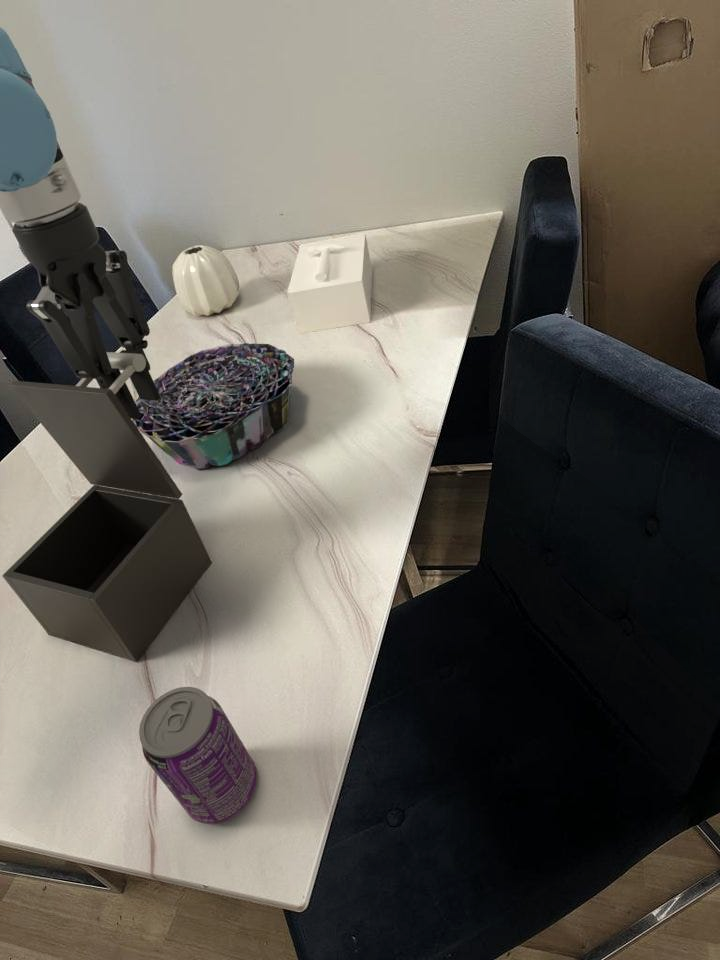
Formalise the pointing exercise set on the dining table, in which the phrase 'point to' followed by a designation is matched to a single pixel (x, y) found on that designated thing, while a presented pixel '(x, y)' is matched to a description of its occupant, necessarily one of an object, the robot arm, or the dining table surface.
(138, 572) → the dark open box
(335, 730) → the dining table surface
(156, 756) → the beverage can
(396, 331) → the dining table surface
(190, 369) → the decorative bowl
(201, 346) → the dining table surface
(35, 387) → the lid
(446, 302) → the dining table surface
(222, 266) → the vase
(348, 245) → the white embossed block
